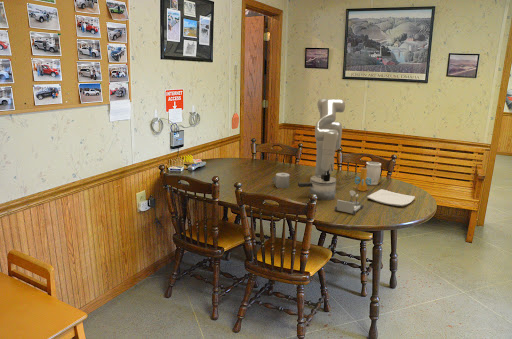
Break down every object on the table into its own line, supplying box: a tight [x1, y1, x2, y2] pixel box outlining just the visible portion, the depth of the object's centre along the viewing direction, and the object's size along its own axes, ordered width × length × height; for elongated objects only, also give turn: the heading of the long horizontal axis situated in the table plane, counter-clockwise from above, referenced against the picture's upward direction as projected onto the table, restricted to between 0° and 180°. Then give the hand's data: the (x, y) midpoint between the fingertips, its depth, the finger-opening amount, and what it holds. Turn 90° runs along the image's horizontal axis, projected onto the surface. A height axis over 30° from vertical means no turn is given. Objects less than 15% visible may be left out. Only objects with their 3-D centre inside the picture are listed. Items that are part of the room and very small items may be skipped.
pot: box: [297, 178, 337, 201], centre depth 258 cm, size 16×24×10 cm
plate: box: [366, 188, 416, 207], centre depth 256 cm, size 24×24×3 cm
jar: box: [365, 161, 382, 186], centre depth 289 cm, size 11×10×15 cm
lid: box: [310, 174, 337, 184], centre depth 257 cm, size 17×16×4 cm
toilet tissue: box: [271, 172, 291, 189], centre depth 277 cm, size 9×13×9 cm
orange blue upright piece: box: [354, 167, 371, 192], centre depth 274 cm, size 12×10×15 cm
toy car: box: [334, 189, 364, 216], centre depth 237 cm, size 18×10×12 cm
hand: (326, 180), depth 251 cm, fingers closed
